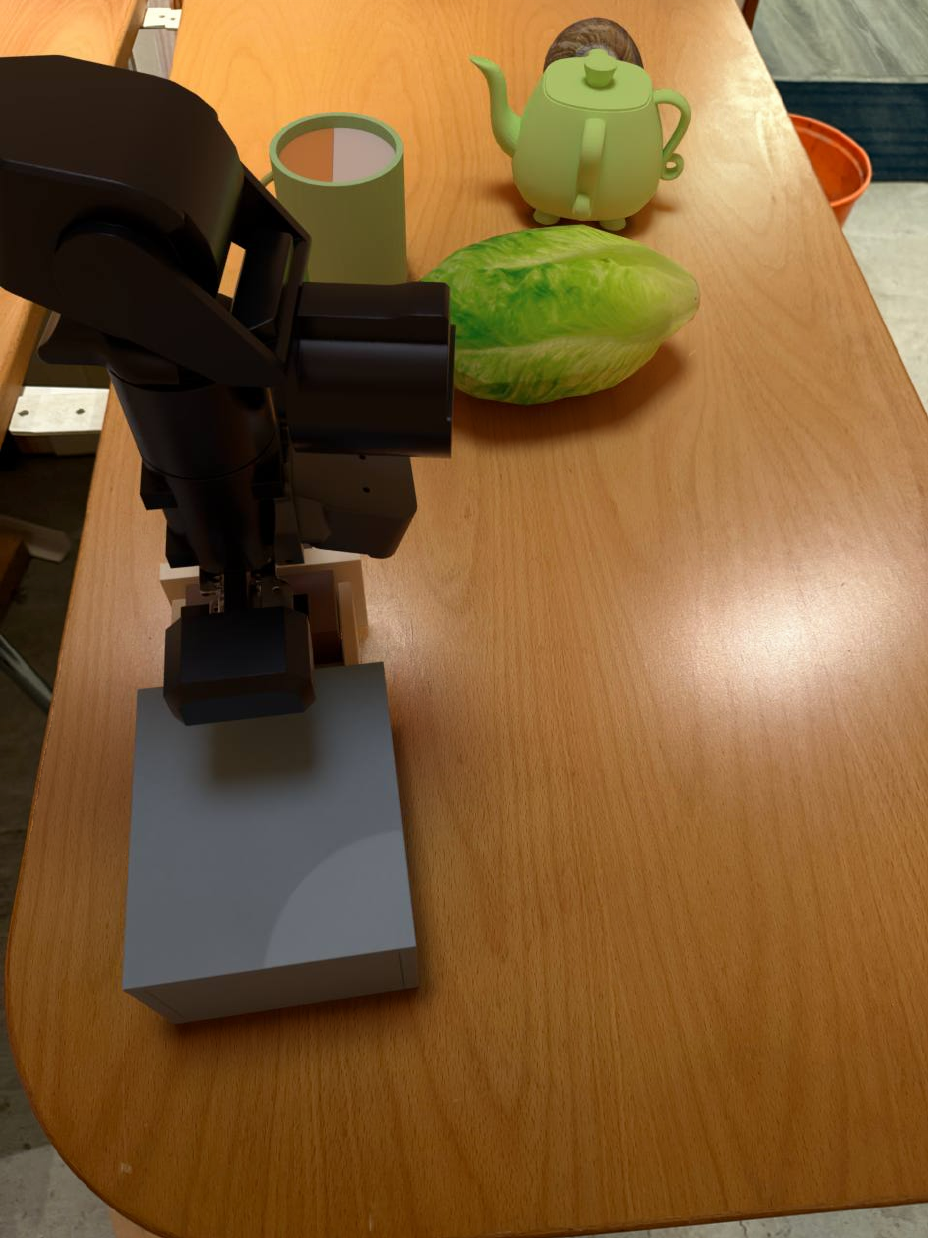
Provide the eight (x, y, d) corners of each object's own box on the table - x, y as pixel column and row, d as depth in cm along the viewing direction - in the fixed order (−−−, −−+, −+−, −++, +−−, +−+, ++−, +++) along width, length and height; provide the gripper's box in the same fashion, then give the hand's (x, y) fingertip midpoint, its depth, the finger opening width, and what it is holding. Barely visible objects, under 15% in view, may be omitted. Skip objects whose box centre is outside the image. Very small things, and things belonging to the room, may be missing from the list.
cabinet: (179, 761, 53) (137, 688, 46) (390, 735, 55) (383, 660, 47) (173, 1024, 46) (121, 990, 38) (419, 987, 47) (416, 946, 39)
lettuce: (708, 414, 70) (753, 288, 61) (424, 458, 67) (422, 332, 57) (652, 308, 77) (684, 179, 67) (391, 344, 74) (385, 213, 64)
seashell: (550, 135, 92) (559, 51, 85) (530, 87, 97) (538, 5, 90) (656, 127, 93) (673, 44, 86) (631, 81, 98) (646, -1, 91)
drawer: (189, 576, 60) (161, 505, 53) (361, 558, 61) (353, 487, 55) (184, 833, 50) (150, 783, 44) (388, 807, 51) (382, 754, 45)
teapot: (549, 271, 80) (567, 129, 69) (462, 190, 86) (466, 48, 75) (687, 215, 85) (723, 75, 74) (596, 142, 91) (617, 4, 80)
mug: (405, 244, 81) (401, 108, 71) (408, 320, 75) (404, 185, 65) (265, 246, 80) (240, 109, 70) (257, 323, 75) (230, 187, 65)
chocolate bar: (343, 662, 50) (337, 629, 48) (198, 678, 50) (184, 646, 47) (338, 603, 53) (332, 568, 50) (199, 618, 52) (185, 583, 49)
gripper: (428, 592, 33) (430, 764, 46) (379, 272, 43) (392, 489, 56) (116, 625, 32) (209, 792, 45) (140, 288, 42) (210, 506, 55)
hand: (266, 629), depth 50 cm, fingers closed on chocolate bar, 4 cm apart
